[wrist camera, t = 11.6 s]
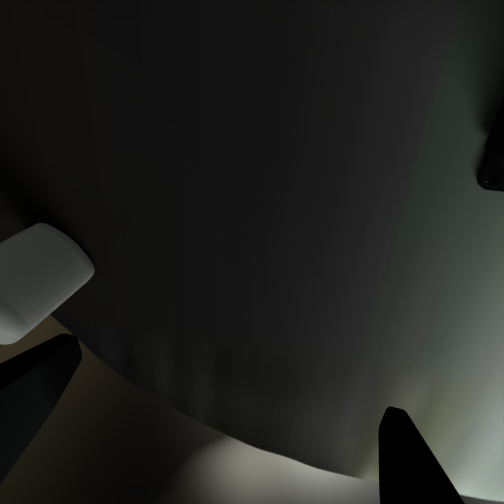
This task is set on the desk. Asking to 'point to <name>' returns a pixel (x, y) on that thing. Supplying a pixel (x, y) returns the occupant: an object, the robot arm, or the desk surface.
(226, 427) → the desk surface
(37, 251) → the eye dropper bottle
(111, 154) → the desk surface
